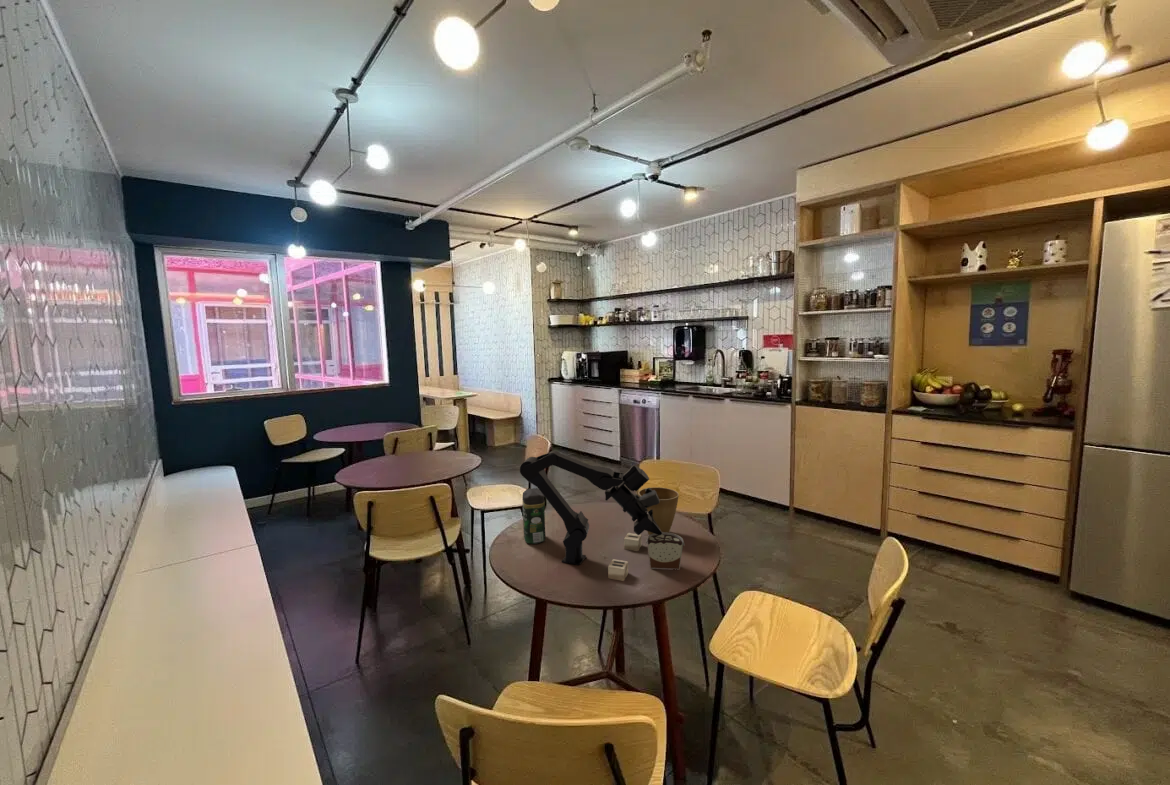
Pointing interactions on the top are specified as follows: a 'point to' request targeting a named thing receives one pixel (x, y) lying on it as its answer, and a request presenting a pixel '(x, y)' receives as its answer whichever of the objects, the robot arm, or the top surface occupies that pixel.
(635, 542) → the numbered tile one
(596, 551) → the top surface
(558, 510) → the robot arm
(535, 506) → the coffee jar
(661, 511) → the plant pot
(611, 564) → the numbered tile two
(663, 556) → the food container
